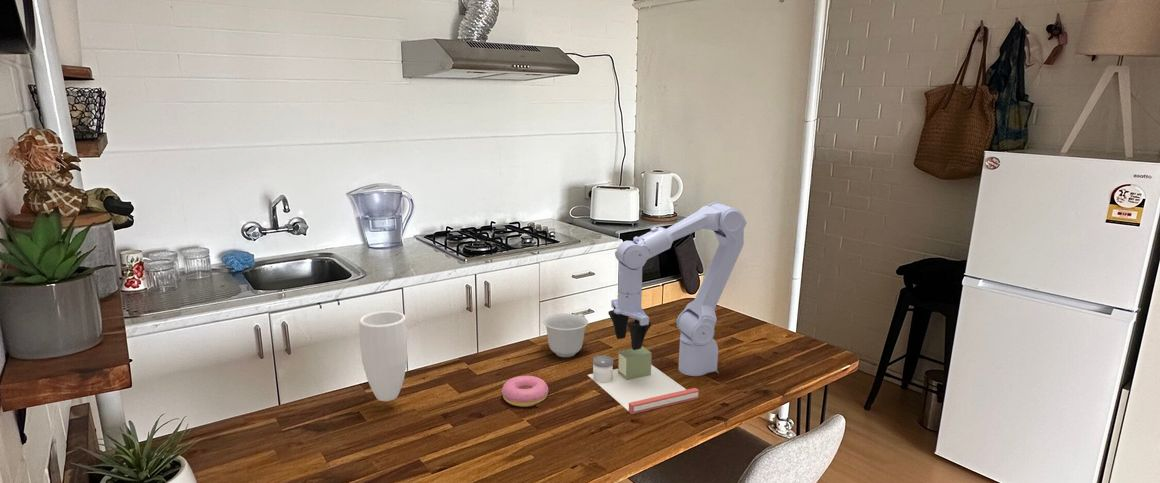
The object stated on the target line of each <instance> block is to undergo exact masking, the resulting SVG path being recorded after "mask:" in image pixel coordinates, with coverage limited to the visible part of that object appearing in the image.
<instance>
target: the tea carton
mask: <svg viewBox="0 0 1160 483" xmlns="http://www.w3.org/2000/svg"><path fill="white" fill-rule="evenodd" d="M652 355H653V352H651V351H650V350H649V349H647V348H646V347H644V346H642V347H641V349H638V350H633V349H632V348H626V349H623V350H618V355H617V356H618V360H617V362H618V363H617V369H618V374H620V375H621V376H622V377H623V378H625V379H626V380H630V379H634V378H639V377H644V376H649V375H651V365H652V360H653V358H652Z"/></svg>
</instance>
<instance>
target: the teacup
mask: <svg viewBox="0 0 1160 483" xmlns="http://www.w3.org/2000/svg"><path fill="white" fill-rule="evenodd" d="M588 324H589V320H588V319H587V318H586V316H585V315H584V313H578V314H575V313H555V314H552V315H548V316H547V317H546V318H544V319H543V325H545V328H546V333H547V334H546V336H547V341H548V342H547V343H548V346H549V349H550V350H551V351H552V352H553V353H554V354H555V355H556V356H558V357H561V358H571V357H574V356H575V355H576V354H577V353H579V351H580V350H581V349H582V346H583V343H584V336H585V330H586V326H587V325H588Z"/></svg>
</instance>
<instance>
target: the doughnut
mask: <svg viewBox="0 0 1160 483" xmlns="http://www.w3.org/2000/svg"><path fill="white" fill-rule="evenodd" d="M501 393H502V397H503V400H505V402H506V403H508V404H509V405H512V406H514V407H519V408H520V407H523V408H524V407H527V408H528V407H533V406H537V404H539V403H541V402H543V401H544V400H545V399H546V398H547V396H548V395H549V394H548V393H549V387H548V383H546V381H545V380H544V379H542V378H540V377H537V376H535V375H526V374H525V375H518V376H514V377H512V378H509V379H508V380H506V381H505V383H503V385H502V388H501Z"/></svg>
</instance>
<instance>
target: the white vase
mask: <svg viewBox="0 0 1160 483" xmlns="http://www.w3.org/2000/svg"><path fill="white" fill-rule="evenodd" d="M406 317H407V316H406V315H405V314H404V313H402V312H399V311H396V310H382V311H379V310H378V311H374V312H370V313H367V314H365V315H363V316H362V317H361V318H360V319H359V322H358V324H359V345H360V346H359V347H360V354H361V361H362V362H361V364H362V366H363V370H364V372H365V377H366V380H367V382H368V384H369V386H370V389H371V390H372V392H373V394H374V396H375V399H377V400H378V401H381V402H390V401H393V400H396V399H397V398H398V397H399V395H400V392H401V390H402V386H403V383H404V379H405V377H406V376H405V375H406V370H407V364H408V331H407V320H406Z"/></svg>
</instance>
